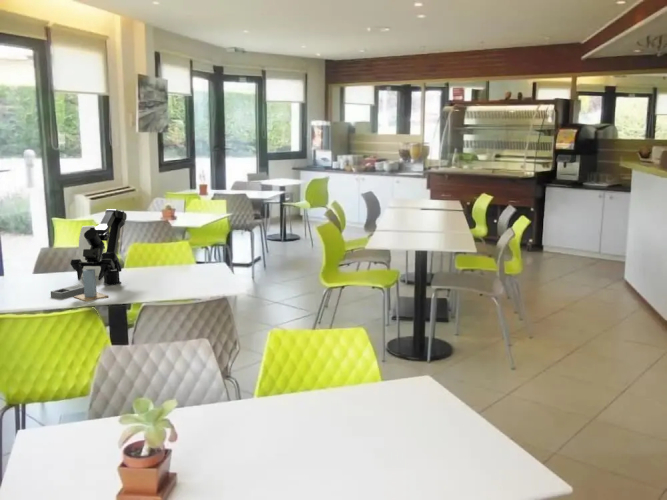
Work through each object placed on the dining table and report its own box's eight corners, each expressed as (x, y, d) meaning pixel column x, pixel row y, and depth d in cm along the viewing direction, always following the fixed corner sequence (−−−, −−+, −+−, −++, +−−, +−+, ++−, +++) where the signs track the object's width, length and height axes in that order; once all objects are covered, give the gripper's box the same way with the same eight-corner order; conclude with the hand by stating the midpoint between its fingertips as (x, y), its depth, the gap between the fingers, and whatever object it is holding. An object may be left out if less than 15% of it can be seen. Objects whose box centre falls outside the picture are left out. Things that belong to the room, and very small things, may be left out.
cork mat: (95, 293, 299) (95, 291, 299) (108, 297, 292) (108, 295, 292) (73, 298, 291) (73, 296, 291) (85, 302, 284) (85, 300, 284)
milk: (103, 271, 347) (100, 223, 342) (104, 275, 336) (100, 227, 332) (80, 273, 343) (76, 225, 338) (79, 277, 332) (75, 228, 327)
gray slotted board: (83, 289, 308) (82, 282, 307) (93, 290, 305) (92, 283, 304) (51, 297, 292) (50, 290, 292) (61, 299, 289) (60, 292, 288)
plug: (88, 294, 294) (86, 269, 291) (96, 294, 294) (94, 269, 291) (84, 297, 290) (82, 271, 287) (93, 297, 290) (91, 271, 287)
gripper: (70, 241, 291) (61, 270, 283) (110, 241, 291) (103, 270, 282) (78, 255, 301) (70, 283, 292) (117, 255, 300) (111, 283, 292)
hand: (88, 280), depth 289 cm, fingers open, 9 cm apart
